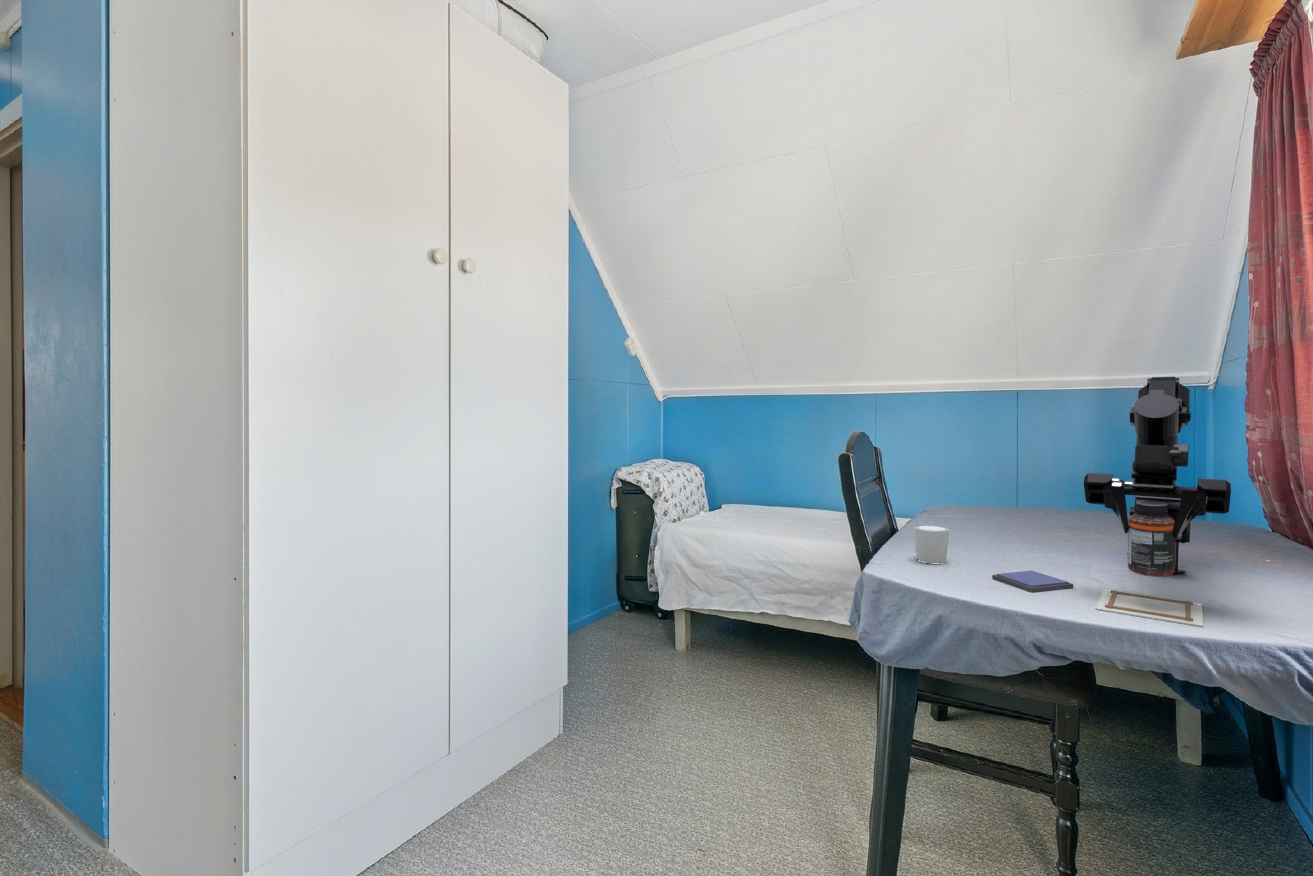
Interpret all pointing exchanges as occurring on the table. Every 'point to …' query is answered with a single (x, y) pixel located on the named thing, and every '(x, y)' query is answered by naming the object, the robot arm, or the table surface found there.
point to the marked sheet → (1151, 607)
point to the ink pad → (1032, 581)
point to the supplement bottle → (1151, 539)
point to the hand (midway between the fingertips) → (1150, 534)
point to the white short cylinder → (931, 543)
